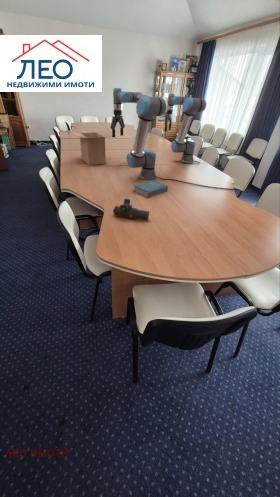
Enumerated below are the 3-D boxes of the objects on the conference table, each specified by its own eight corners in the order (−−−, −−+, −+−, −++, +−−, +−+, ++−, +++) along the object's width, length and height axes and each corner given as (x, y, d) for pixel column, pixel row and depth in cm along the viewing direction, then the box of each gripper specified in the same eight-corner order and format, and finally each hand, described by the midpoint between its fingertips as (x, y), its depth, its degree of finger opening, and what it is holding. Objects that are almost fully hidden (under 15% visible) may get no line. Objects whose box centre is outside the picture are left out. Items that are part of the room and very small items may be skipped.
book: (152, 185, 190) (153, 179, 187) (167, 191, 181) (167, 185, 178) (133, 191, 176) (133, 185, 173) (147, 198, 167) (148, 191, 164)
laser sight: (146, 223, 136) (147, 209, 130) (111, 218, 139) (111, 203, 133) (149, 216, 144) (150, 202, 138) (115, 211, 147) (115, 197, 141)
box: (116, 165, 229) (116, 136, 213) (83, 168, 214) (80, 137, 198) (102, 154, 259) (101, 128, 243) (71, 156, 244) (68, 129, 228)
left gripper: (121, 108, 204) (121, 134, 217) (105, 109, 186) (106, 137, 198) (128, 109, 201) (128, 135, 214) (113, 110, 183) (113, 138, 196)
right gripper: (170, 109, 263) (168, 129, 275) (163, 110, 244) (160, 131, 257) (176, 109, 260) (174, 129, 273) (169, 110, 242) (166, 132, 255)
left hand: (117, 136), depth 206 cm, fingers open, 13 cm apart
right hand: (167, 130), depth 265 cm, fingers open, 13 cm apart
